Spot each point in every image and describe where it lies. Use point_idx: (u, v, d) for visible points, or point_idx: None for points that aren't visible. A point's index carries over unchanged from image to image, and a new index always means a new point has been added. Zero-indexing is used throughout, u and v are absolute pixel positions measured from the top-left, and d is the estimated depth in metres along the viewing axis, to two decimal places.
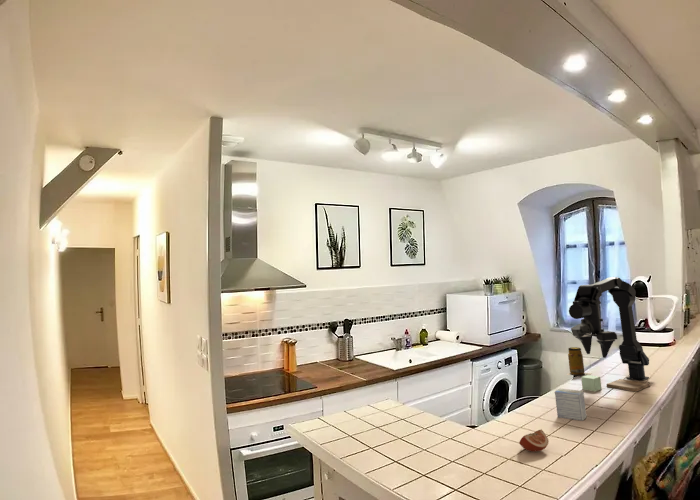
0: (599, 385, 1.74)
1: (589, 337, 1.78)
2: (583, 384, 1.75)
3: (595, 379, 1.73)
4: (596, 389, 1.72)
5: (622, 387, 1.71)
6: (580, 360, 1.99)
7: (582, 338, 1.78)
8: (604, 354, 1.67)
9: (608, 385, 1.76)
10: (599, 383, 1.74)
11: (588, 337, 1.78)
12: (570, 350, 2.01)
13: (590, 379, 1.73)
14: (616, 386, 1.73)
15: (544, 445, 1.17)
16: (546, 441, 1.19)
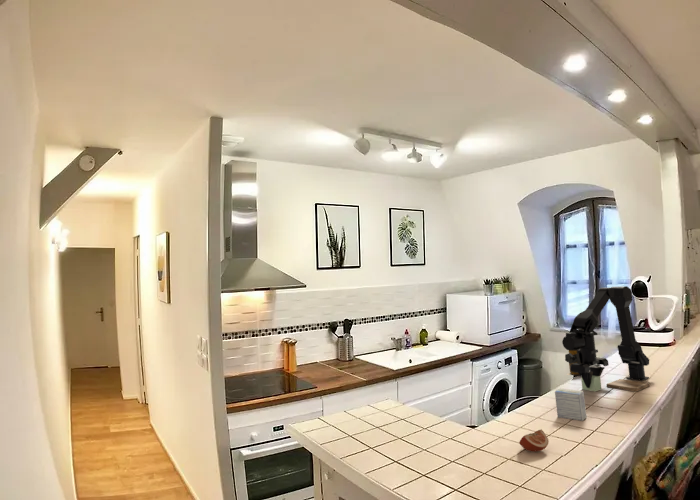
0: (599, 385, 1.74)
1: (598, 369, 1.76)
2: (583, 384, 1.75)
3: (595, 379, 1.73)
4: (596, 389, 1.72)
5: (622, 387, 1.71)
6: None
7: (590, 368, 1.78)
8: (586, 384, 1.74)
9: (608, 385, 1.76)
10: (599, 383, 1.74)
11: (597, 369, 1.76)
12: (570, 350, 2.01)
13: None
14: (616, 386, 1.73)
15: (544, 445, 1.17)
16: (546, 441, 1.19)
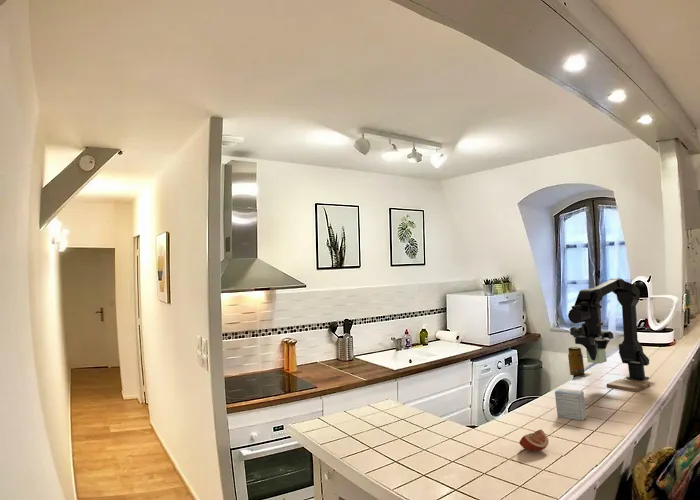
0: (604, 358, 1.75)
1: (603, 342, 1.77)
2: (588, 356, 1.76)
3: (600, 351, 1.73)
4: (601, 361, 1.73)
5: (622, 387, 1.71)
6: (580, 360, 1.99)
7: (595, 341, 1.79)
8: (591, 357, 1.74)
9: (608, 385, 1.76)
10: (604, 355, 1.75)
11: (602, 341, 1.77)
12: (570, 350, 2.01)
13: None
14: (616, 386, 1.73)
15: (544, 445, 1.17)
16: (546, 441, 1.19)
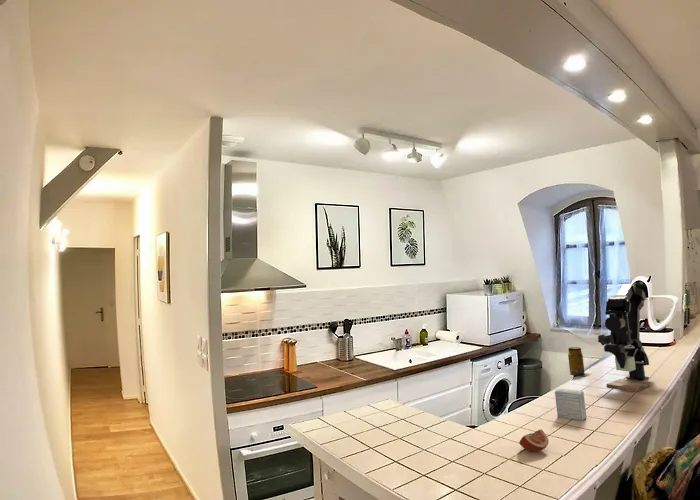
0: (633, 366, 1.74)
1: (631, 350, 1.76)
2: (617, 364, 1.76)
3: (629, 359, 1.73)
4: (630, 369, 1.73)
5: (622, 387, 1.71)
6: (580, 360, 1.99)
7: (623, 349, 1.79)
8: (620, 364, 1.74)
9: (608, 385, 1.76)
10: (633, 363, 1.74)
11: (630, 349, 1.77)
12: (570, 350, 2.01)
13: None
14: (616, 386, 1.73)
15: (544, 445, 1.17)
16: (546, 441, 1.19)
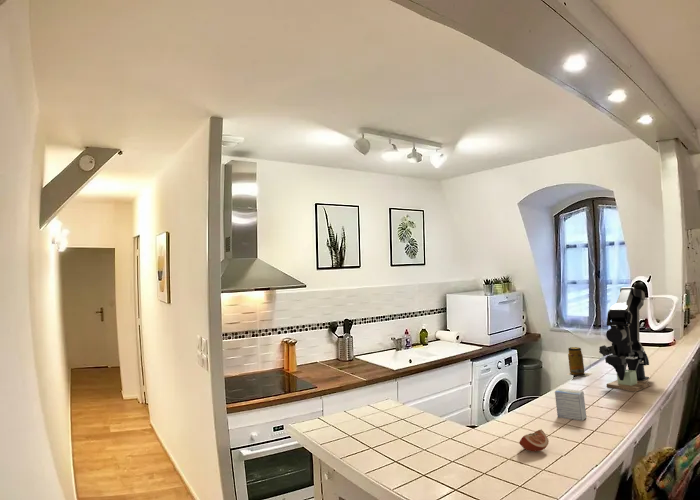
0: (635, 379, 1.74)
1: (635, 360, 1.77)
2: (618, 378, 1.75)
3: (631, 373, 1.73)
4: (632, 383, 1.72)
5: (622, 387, 1.71)
6: (580, 360, 1.99)
7: (626, 360, 1.79)
8: (619, 377, 1.73)
9: (608, 385, 1.76)
10: (635, 377, 1.74)
11: (633, 360, 1.77)
12: (570, 350, 2.01)
13: (626, 373, 1.73)
14: (616, 386, 1.73)
15: (544, 445, 1.17)
16: (546, 441, 1.19)
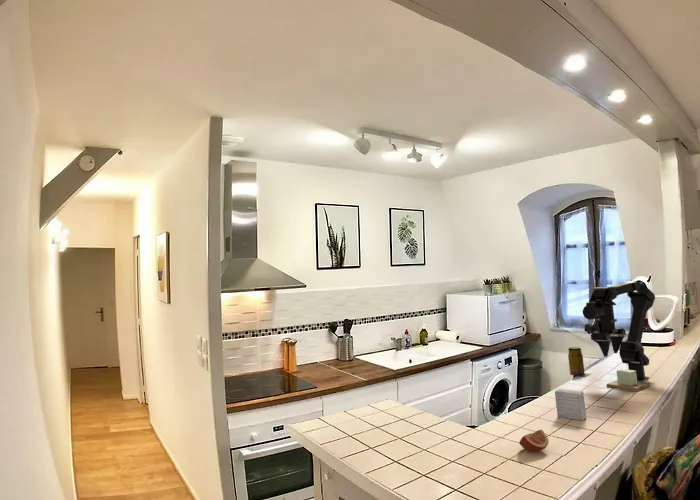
0: (635, 379, 1.74)
1: (618, 337, 1.83)
2: (618, 378, 1.75)
3: (631, 373, 1.73)
4: (632, 383, 1.72)
5: (622, 387, 1.71)
6: (580, 360, 1.99)
7: (610, 337, 1.85)
8: (603, 353, 1.78)
9: (608, 385, 1.76)
10: (635, 377, 1.74)
11: (617, 337, 1.83)
12: (570, 350, 2.01)
13: (626, 373, 1.73)
14: (616, 386, 1.73)
15: (544, 445, 1.17)
16: (546, 441, 1.19)
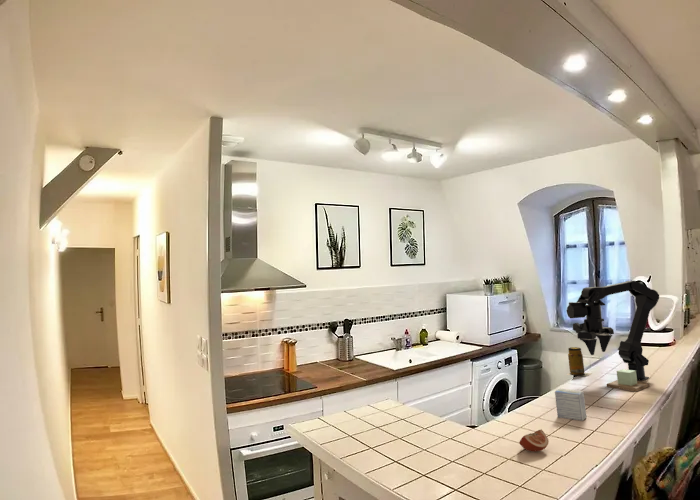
0: (635, 379, 1.74)
1: (606, 336, 1.87)
2: (618, 378, 1.75)
3: (631, 373, 1.73)
4: (632, 383, 1.72)
5: (622, 387, 1.71)
6: (580, 360, 1.99)
7: (598, 336, 1.90)
8: (590, 351, 1.83)
9: (608, 385, 1.76)
10: (635, 377, 1.74)
11: (605, 336, 1.88)
12: (570, 350, 2.01)
13: (626, 373, 1.73)
14: (616, 386, 1.73)
15: (544, 445, 1.17)
16: (546, 441, 1.19)
